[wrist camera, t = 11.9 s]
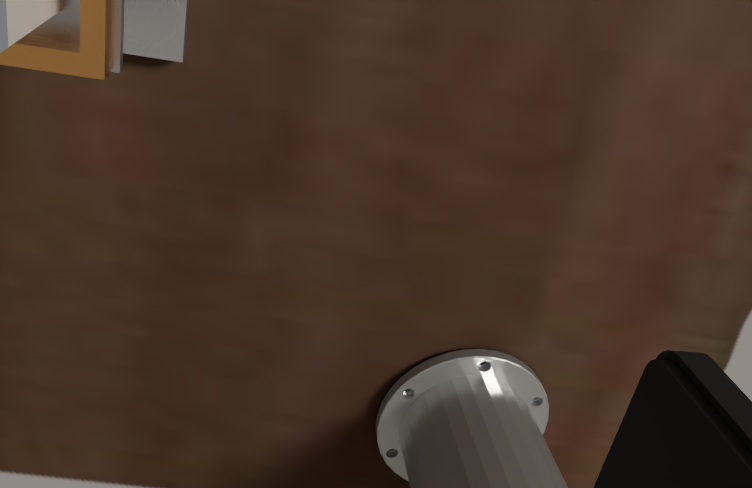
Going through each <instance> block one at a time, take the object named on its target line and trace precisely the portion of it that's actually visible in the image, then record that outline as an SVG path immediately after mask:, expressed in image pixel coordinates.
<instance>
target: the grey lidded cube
mask: <svg viewBox="0 0 752 488" xmlns="http://www.w3.org/2000/svg"><path fill="white" fill-rule="evenodd" d="M61 10H63V0H0V53H1V52H3V51H4V50H5V49H7V48H8V47H10V46H11V45H13V44H14V43H15V42H17V41H18V40H20V39H21V38H23V37H24V36H25V35H27V34H28V33H30V32H31V31H33V30H34V29H35V28H37V27H38V26H40V25H41V24H43V23H44V22H45V21H47V20H48V19H50V18H51V17H53V16H54V15H55V14H57V13H58V12H60V11H61Z"/></svg>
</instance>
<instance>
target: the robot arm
mask: <svg viewBox="0 0 752 488" xmlns="http://www.w3.org/2000/svg"><path fill="white" fill-rule="evenodd" d="M548 417H549V404H548V399H547V394H546V392H545V390H544V388H543V386H542V384H541V382H540V380H539V379H538V377H537V376H536V374H535V373H534V372H533V370H531V369H530V368H529V367H528V366H527V365H526V364H525V363H524V362H522V361H520V360H518V359H517V358H515V357H513V356H511V355H508V354H505V353H502V352H498V351H493V350H485V349H466V350H459V351H454V352H449V353H445V354H442V355H439V356H436V357H434V358H431V359H428V360H427V361H425V362H423V363H421V364H419V365H417V366H415V367H414V368H412V369H411V370H410V371H409V372H407V373H406V374H405V375H403V376H402V377H401V378H400V379H399V380H398V381H397V382H396V383H395V384H394V385H393V386H392V387H391V388H390V390H389V391H388V393H387V394H386V396H385V397H384V399H383V401H382V403H381V405H380V408H379V411H378V413H377V419H376V426H375V428H376V436H377V442H378V446H379V450H380V454H381V455H382V457H383V459H384V461H385V462H386V464H387V465H388V466H389V467H390V468H391V469H392V470H393V471H394V473H396V474H397V475H399V476H400V477H402V478H403V479H405V480H406V481H409V484H410V488H568V487H567V485H566V483H565V481H564V479H563V477H562V475H561V473H560V471H559V469H558V467H557V465H556V463H555V460H554V458H553V456H552V454H551V452H550V450H549V448H548V446H547V444H546V442H545V440H544V438H543V436H542V435H543V434H544V432H545V429H546V425H547V422H548ZM594 488H752V402H751V401H750V399H748V397H747V396H746V395H745V394H744V393H743V392H742V391H741V390H740V389H739V388H738V386H737V385H736V384H735V383H734V382H733V381H732V380H731V379H730V378H729V377H728V376H727V375H726V374H725V373H724V371H723V370H722V369H721V368H720V367H719V366H718V365H717V364H716V363H715V362H714V361H713V359H712V358H710V357H709V356H708V355H706V354H703V353H696V352H683V351H670V350H668V351H664V352H662V353H661V354H659V355H658V356H657V358H656V359H655V360H651V361H650V362H649V363H648V364H647V366H646V367H645V369H644V372H643V374H642V376H641V379H640V381H639V383H638V386H637V388H636V390H635V392H634V395H633V397H632V399H631V402H630V404H629V406H628V409H627V411H626V413H625V416H624V418H623V420H622V423H621V425H620V427H619V430H618V432H617V434H616V437H615V439H614V441H613V444H612V446H611V448H610V451H609V453H608V455H607V457H606V460H605V462H604V464H603V467H602V469H601V471H600V474H599V476H598V478H597V481H596V483H595V485H594Z"/></svg>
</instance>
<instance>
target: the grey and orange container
mask: <svg viewBox="0 0 752 488" xmlns="http://www.w3.org/2000/svg"><path fill="white" fill-rule="evenodd" d="M189 1H190V0H63V10H61V11H60V12H58V13H57V14H55V15H54V16H53V17H51V18H50V19H48V20H47V21H45V22H44V23H43V24H41V25H40V26H38V27H37V28H35V29H34V30H33V31H31V32H30V33H28V34H27V35H25V36H24V37H23V38H21V39H20V40H18V41H17V42H15V43H14V44H13V45H11V46H10V47H8V48H7V49H5V50H4V51H3V52H1V53H0V65H7V66H14V67H21V68H27V69H34V70H41V71H48V72H55V73H61V74H68V75H75V76H82V77H88V78H95V79H102V80H105V78H106V77H107V76H108V75H109V73H110V72H116V73H120V72H121V71H122V69H123V53H125V54H131V55H138V56H144V57H151V58H157V59H163V60H170V61H176V62H183V61H184V58H185V56H186V44H187V29H188V15H189Z"/></svg>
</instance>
